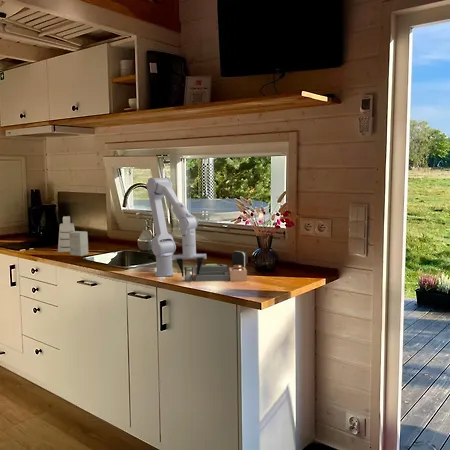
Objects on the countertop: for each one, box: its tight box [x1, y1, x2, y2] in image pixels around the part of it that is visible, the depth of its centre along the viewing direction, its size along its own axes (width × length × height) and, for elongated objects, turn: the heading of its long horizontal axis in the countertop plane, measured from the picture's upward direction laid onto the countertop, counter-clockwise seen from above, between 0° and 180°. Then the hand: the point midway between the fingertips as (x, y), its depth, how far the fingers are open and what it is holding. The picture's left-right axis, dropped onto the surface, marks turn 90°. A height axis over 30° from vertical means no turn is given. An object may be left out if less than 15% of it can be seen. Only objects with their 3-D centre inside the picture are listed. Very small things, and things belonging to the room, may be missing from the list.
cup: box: [228, 267, 248, 282], centre depth 212 cm, size 7×7×5 cm
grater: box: [57, 215, 76, 253], centre depth 291 cm, size 10×10×20 cm
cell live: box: [183, 265, 194, 283], centre depth 212 cm, size 4×4×6 cm
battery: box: [231, 250, 249, 269], centre depth 219 cm, size 7×4×11 cm, turn 47°
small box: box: [69, 230, 89, 257], centre depth 276 cm, size 8×6×13 cm
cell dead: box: [233, 265, 242, 270], centre depth 211 cm, size 4×4×6 cm
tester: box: [194, 263, 230, 282], centre depth 214 cm, size 13×14×6 cm
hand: (190, 275), depth 212 cm, fingers open, 6 cm apart
